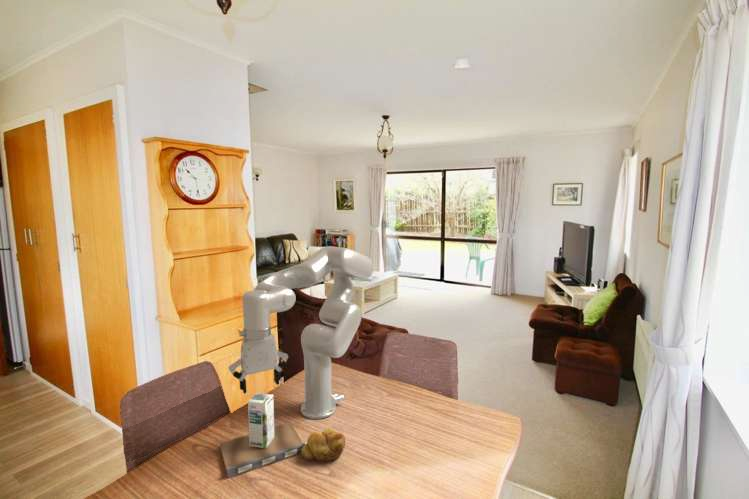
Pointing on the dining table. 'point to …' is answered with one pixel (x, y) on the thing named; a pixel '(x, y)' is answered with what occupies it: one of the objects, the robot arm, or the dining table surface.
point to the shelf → (260, 451)
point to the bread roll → (324, 445)
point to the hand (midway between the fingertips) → (260, 386)
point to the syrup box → (261, 420)
